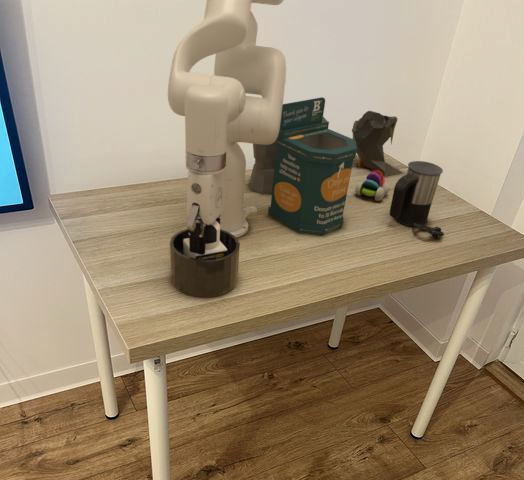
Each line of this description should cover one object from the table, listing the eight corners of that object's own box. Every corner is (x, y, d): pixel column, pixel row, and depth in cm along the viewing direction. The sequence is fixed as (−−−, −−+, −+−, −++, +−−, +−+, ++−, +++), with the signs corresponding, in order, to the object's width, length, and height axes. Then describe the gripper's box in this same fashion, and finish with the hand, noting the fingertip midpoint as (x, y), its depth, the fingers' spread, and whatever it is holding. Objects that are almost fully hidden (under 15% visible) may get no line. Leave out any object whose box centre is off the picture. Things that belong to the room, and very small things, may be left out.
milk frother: (402, 208, 152) (415, 157, 142) (454, 226, 146) (472, 174, 136) (380, 225, 143) (393, 172, 133) (436, 245, 136) (454, 191, 127)
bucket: (209, 256, 124) (209, 220, 118) (251, 283, 116) (253, 247, 110) (158, 276, 116) (156, 239, 110) (199, 306, 108) (199, 268, 102)
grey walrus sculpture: (371, 156, 183) (382, 101, 171) (402, 172, 173) (416, 115, 162) (339, 162, 176) (349, 104, 165) (369, 179, 167) (382, 120, 155)
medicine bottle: (195, 284, 111) (195, 232, 103) (183, 267, 116) (182, 217, 108) (226, 278, 114) (228, 227, 106) (213, 261, 119) (214, 212, 111)
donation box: (310, 201, 151) (325, 96, 133) (352, 224, 142) (374, 114, 124) (267, 215, 142) (278, 104, 124) (310, 240, 133) (328, 125, 115)
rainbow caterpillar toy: (390, 194, 159) (396, 171, 154) (377, 205, 152) (383, 180, 148) (364, 186, 162) (369, 163, 157) (351, 196, 156) (356, 172, 151)
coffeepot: (238, 182, 157) (241, 119, 146) (263, 176, 162) (268, 114, 150) (270, 202, 148) (276, 136, 137) (295, 195, 153) (303, 131, 141)
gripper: (208, 179, 92) (206, 267, 103) (239, 148, 105) (235, 228, 116) (167, 172, 93) (171, 259, 104) (203, 141, 106) (203, 222, 117)
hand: (205, 242), depth 110 cm, fingers closed on medicine bottle, 7 cm apart
